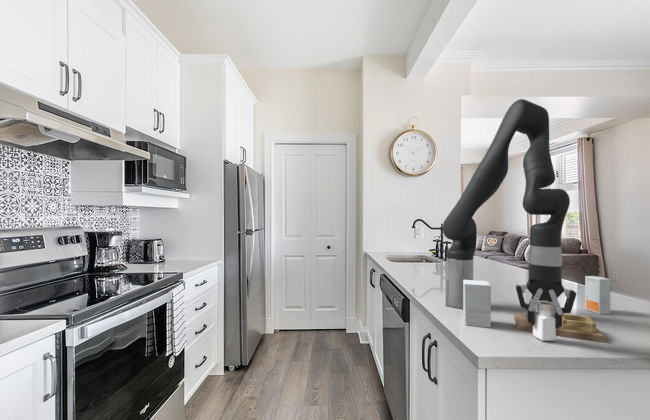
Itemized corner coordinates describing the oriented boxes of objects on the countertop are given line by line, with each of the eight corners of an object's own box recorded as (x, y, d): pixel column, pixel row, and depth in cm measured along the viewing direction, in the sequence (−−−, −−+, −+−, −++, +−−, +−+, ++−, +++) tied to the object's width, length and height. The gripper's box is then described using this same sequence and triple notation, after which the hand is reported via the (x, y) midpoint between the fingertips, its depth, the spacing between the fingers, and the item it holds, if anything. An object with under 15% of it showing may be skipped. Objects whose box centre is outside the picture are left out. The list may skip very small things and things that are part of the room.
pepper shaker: (556, 341, 88) (557, 305, 88) (542, 341, 88) (542, 305, 88) (545, 335, 92) (545, 301, 92) (531, 336, 92) (532, 301, 92)
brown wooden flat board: (517, 330, 97) (517, 316, 97) (514, 318, 108) (514, 306, 108) (604, 342, 88) (604, 327, 88) (591, 328, 99) (591, 315, 99)
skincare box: (584, 309, 120) (584, 275, 120) (595, 309, 120) (595, 275, 120) (599, 314, 114) (599, 279, 114) (611, 314, 114) (611, 279, 114)
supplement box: (487, 320, 106) (488, 280, 106) (491, 328, 99) (491, 285, 99) (462, 318, 108) (462, 278, 108) (464, 325, 101) (464, 283, 101)
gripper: (515, 262, 90) (514, 326, 90) (581, 267, 84) (580, 335, 84) (513, 259, 97) (512, 318, 96) (574, 263, 90) (573, 326, 90)
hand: (544, 325), depth 90 cm, fingers closed on pepper shaker, 5 cm apart
